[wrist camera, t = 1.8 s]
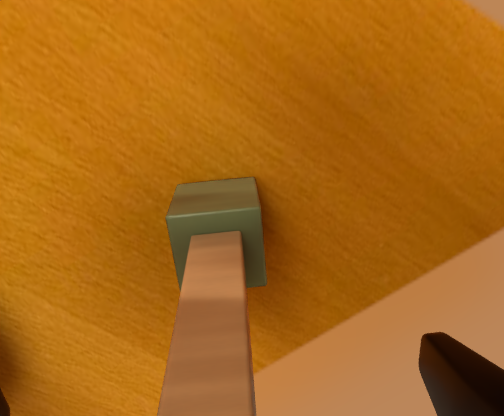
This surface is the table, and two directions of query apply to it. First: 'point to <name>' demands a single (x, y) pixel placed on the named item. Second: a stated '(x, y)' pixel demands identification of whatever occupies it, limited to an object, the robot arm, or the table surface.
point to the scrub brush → (213, 298)
